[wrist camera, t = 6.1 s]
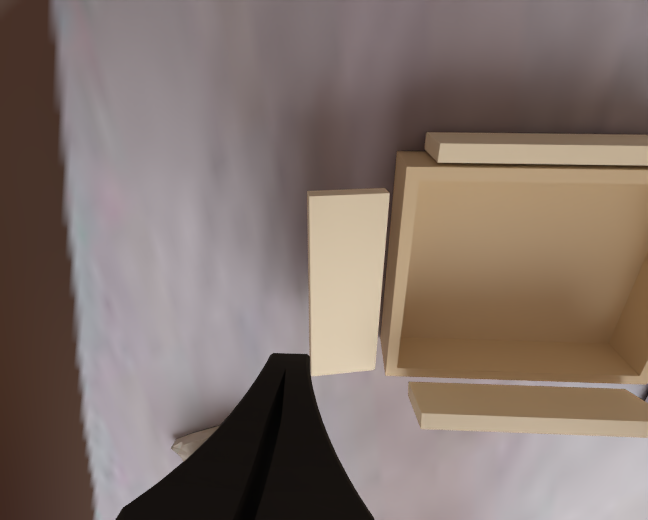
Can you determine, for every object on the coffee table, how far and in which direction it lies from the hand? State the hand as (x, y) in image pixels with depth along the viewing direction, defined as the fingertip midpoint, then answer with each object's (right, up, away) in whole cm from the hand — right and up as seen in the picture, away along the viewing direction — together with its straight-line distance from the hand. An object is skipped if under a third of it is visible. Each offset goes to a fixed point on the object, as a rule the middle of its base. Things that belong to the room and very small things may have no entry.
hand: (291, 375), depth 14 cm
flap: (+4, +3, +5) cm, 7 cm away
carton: (+12, +4, +8) cm, 15 cm away
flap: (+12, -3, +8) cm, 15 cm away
